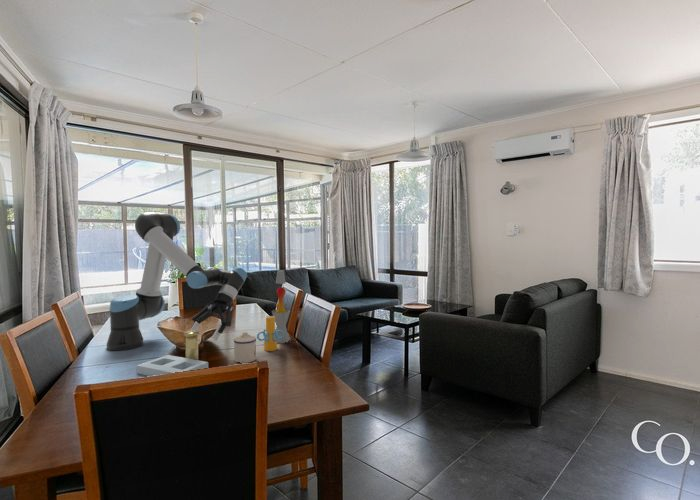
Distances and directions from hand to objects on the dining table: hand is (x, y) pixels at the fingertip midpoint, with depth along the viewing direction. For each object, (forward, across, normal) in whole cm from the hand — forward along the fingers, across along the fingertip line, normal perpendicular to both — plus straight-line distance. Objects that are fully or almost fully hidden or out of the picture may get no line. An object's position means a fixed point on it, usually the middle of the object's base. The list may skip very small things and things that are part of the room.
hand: (201, 337), depth 161 cm
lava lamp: (-19, -15, -33) cm, 41 cm away
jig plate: (+18, -2, +5) cm, 19 cm away
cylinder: (-9, -19, -23) cm, 31 cm away
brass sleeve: (+9, +1, -3) cm, 10 cm away
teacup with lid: (+2, -17, -11) cm, 20 cm away
